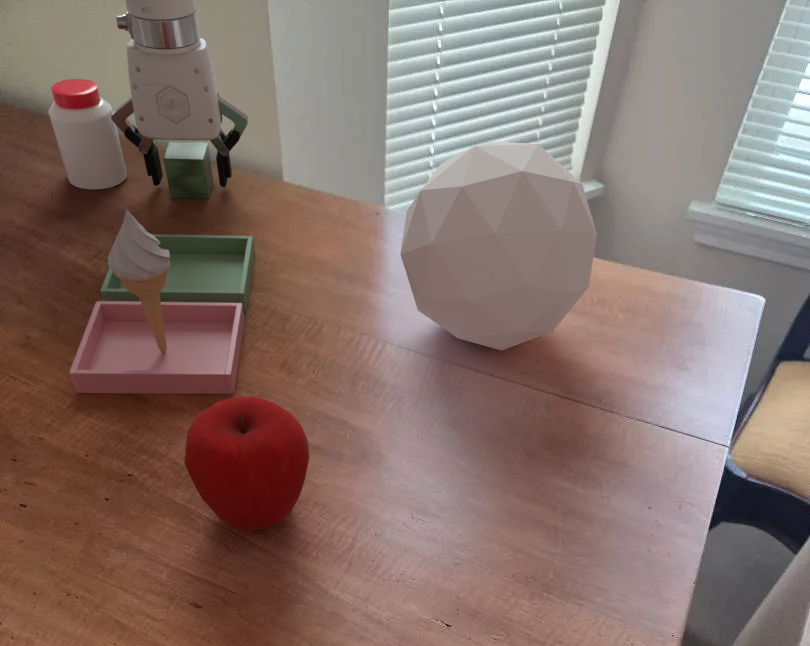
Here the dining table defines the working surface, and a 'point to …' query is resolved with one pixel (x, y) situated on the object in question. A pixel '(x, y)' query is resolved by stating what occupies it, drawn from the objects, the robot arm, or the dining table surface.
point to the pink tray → (143, 361)
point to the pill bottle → (86, 135)
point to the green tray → (198, 270)
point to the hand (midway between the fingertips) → (191, 181)
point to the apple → (247, 461)
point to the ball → (499, 244)
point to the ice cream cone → (142, 271)
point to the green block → (188, 170)
